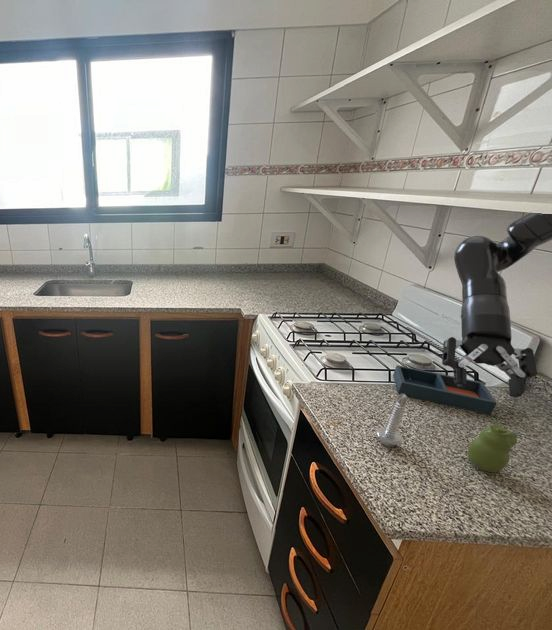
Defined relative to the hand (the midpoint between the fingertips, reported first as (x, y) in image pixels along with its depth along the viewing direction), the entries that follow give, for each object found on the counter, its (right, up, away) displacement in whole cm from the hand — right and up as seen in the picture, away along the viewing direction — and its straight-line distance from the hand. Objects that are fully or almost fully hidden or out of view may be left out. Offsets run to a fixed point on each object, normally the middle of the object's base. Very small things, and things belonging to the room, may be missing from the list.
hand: (488, 391), depth 71 cm
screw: (-18, -12, +5) cm, 22 cm away
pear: (-3, -15, -2) cm, 15 cm away
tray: (+8, -5, +20) cm, 22 cm away
